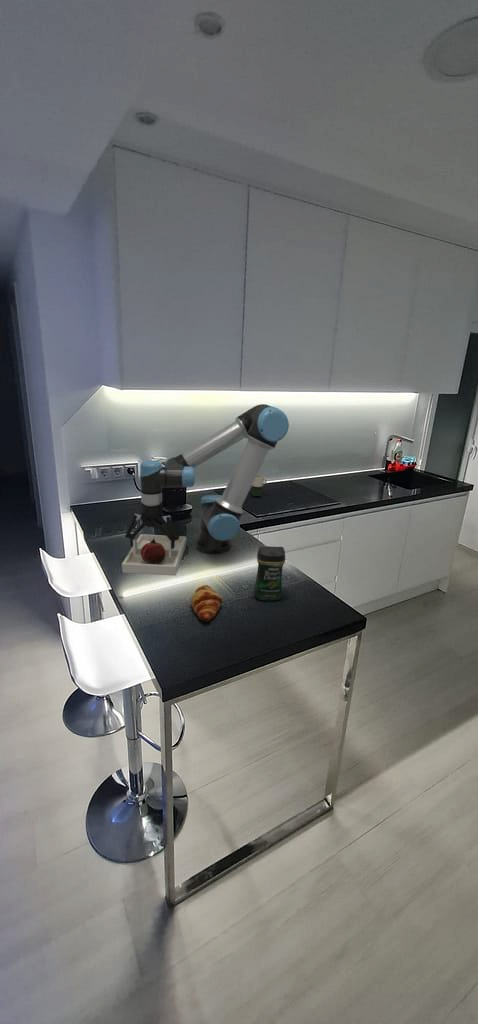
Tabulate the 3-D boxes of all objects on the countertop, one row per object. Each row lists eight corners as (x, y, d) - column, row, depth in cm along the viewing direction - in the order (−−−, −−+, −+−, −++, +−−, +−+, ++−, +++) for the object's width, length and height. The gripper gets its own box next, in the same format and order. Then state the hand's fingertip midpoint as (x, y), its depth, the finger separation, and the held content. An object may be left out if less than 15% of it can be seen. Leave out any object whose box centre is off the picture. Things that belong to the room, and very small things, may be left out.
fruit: (160, 569, 161) (160, 545, 157) (136, 565, 162) (136, 541, 159) (169, 559, 169) (169, 536, 166) (146, 554, 171) (147, 532, 167)
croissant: (197, 599, 150) (186, 581, 148) (222, 587, 150) (212, 569, 147) (197, 635, 130) (185, 615, 128) (227, 621, 130) (215, 600, 127)
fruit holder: (186, 543, 186) (186, 536, 185) (175, 575, 159) (175, 566, 158) (140, 541, 186) (140, 534, 185) (122, 572, 159) (121, 564, 158)
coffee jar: (254, 602, 144) (258, 552, 138) (253, 590, 151) (256, 542, 145) (283, 602, 145) (287, 552, 138) (280, 590, 152) (284, 542, 146)
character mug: (264, 494, 261) (266, 474, 257) (266, 498, 254) (267, 477, 250) (247, 494, 260) (248, 473, 256) (247, 497, 254) (249, 476, 249)
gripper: (186, 501, 161) (186, 552, 168) (121, 498, 161) (123, 549, 168) (183, 507, 154) (183, 560, 161) (115, 504, 154) (117, 557, 161)
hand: (152, 555), depth 165 cm, fingers open, 13 cm apart
